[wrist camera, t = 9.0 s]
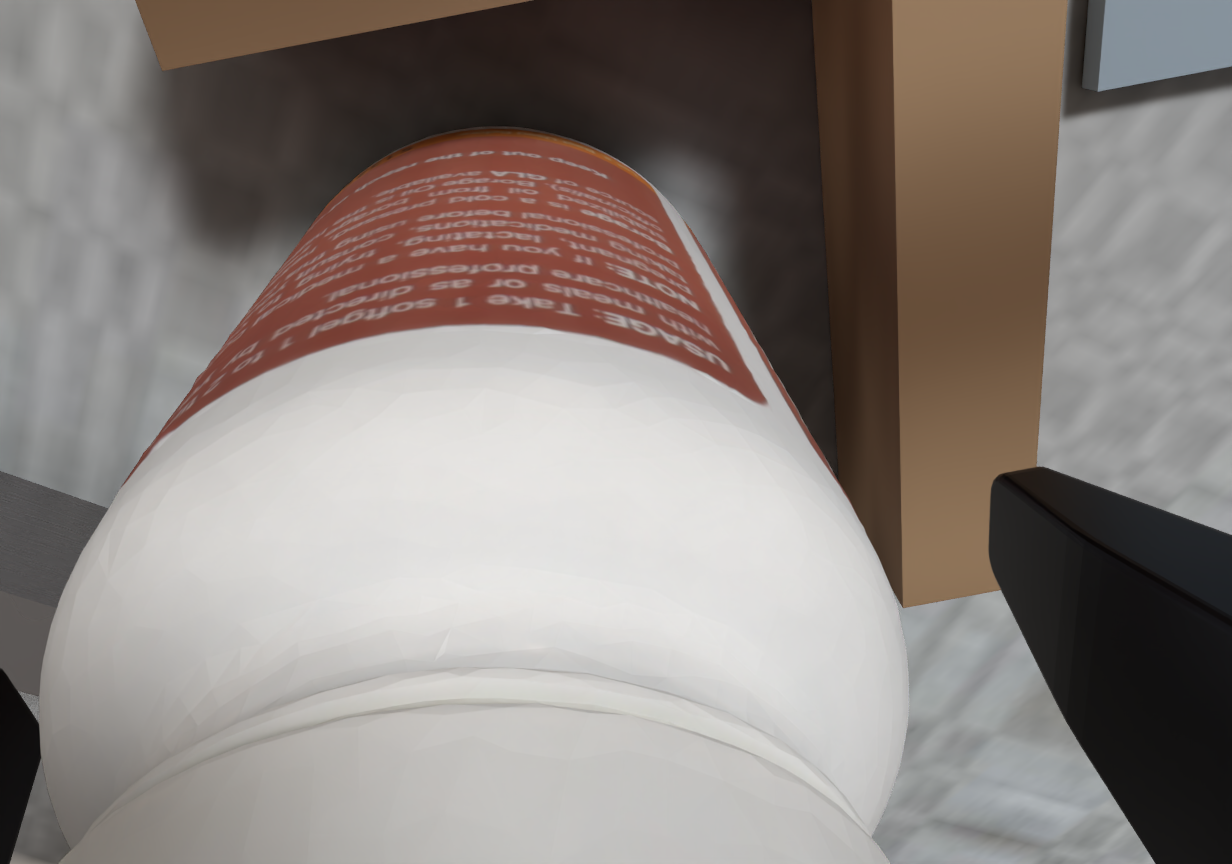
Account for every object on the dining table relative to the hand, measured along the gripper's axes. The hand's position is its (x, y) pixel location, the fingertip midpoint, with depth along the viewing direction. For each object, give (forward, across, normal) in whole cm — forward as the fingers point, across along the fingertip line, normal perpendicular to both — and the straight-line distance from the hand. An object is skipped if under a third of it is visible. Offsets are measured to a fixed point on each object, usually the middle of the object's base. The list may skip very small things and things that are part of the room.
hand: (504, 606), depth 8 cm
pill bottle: (+6, 0, 0) cm, 7 cm away
